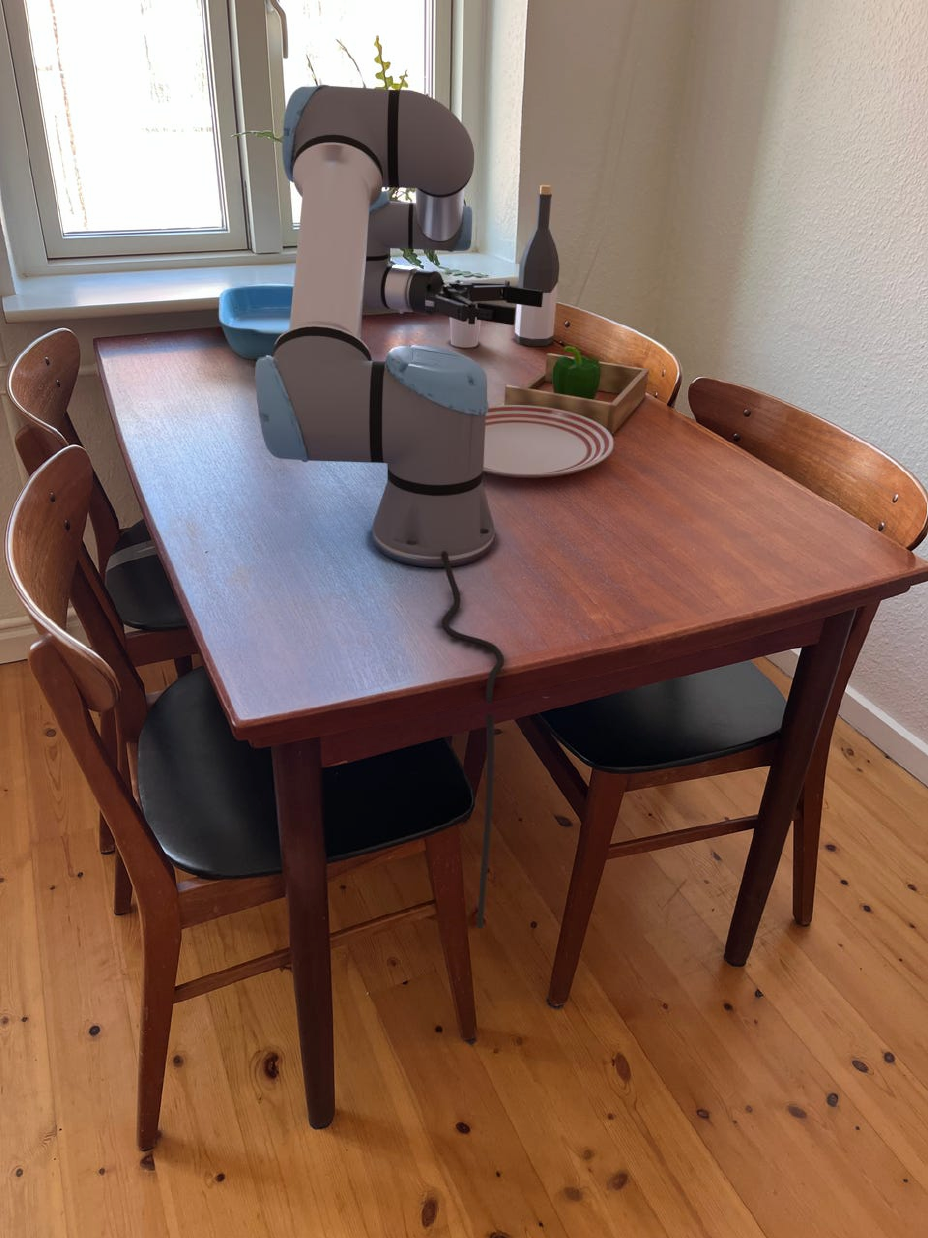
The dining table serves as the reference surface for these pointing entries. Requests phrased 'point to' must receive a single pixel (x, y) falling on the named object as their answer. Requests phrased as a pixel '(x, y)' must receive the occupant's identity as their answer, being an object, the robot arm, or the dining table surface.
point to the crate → (606, 414)
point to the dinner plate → (541, 442)
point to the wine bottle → (539, 279)
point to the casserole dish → (255, 317)
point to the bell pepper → (576, 375)
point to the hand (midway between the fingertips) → (528, 307)
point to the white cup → (464, 333)
